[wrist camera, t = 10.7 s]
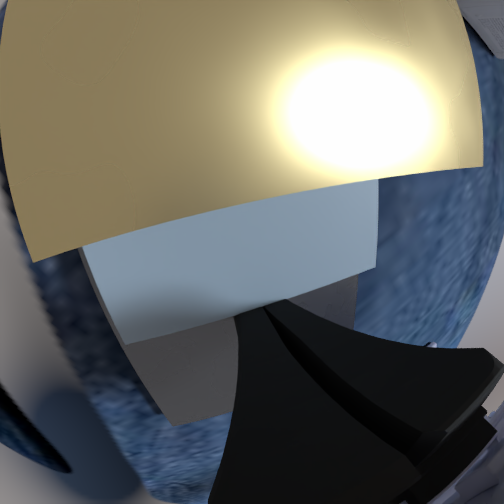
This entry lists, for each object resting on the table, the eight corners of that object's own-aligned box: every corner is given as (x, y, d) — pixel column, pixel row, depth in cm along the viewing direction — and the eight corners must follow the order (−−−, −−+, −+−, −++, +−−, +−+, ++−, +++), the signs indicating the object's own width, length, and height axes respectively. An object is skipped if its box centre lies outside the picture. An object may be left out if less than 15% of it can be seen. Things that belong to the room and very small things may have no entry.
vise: (339, 354, 15) (368, 388, 12) (170, 411, 12) (179, 458, 10) (307, -33, 6) (346, -62, 4) (58, -10, 4) (36, -46, 1)
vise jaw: (341, 246, 10) (375, 266, 8) (128, 306, 8) (125, 344, 7) (336, 140, 9) (376, 143, 7) (89, 188, 7) (68, 202, 5)
